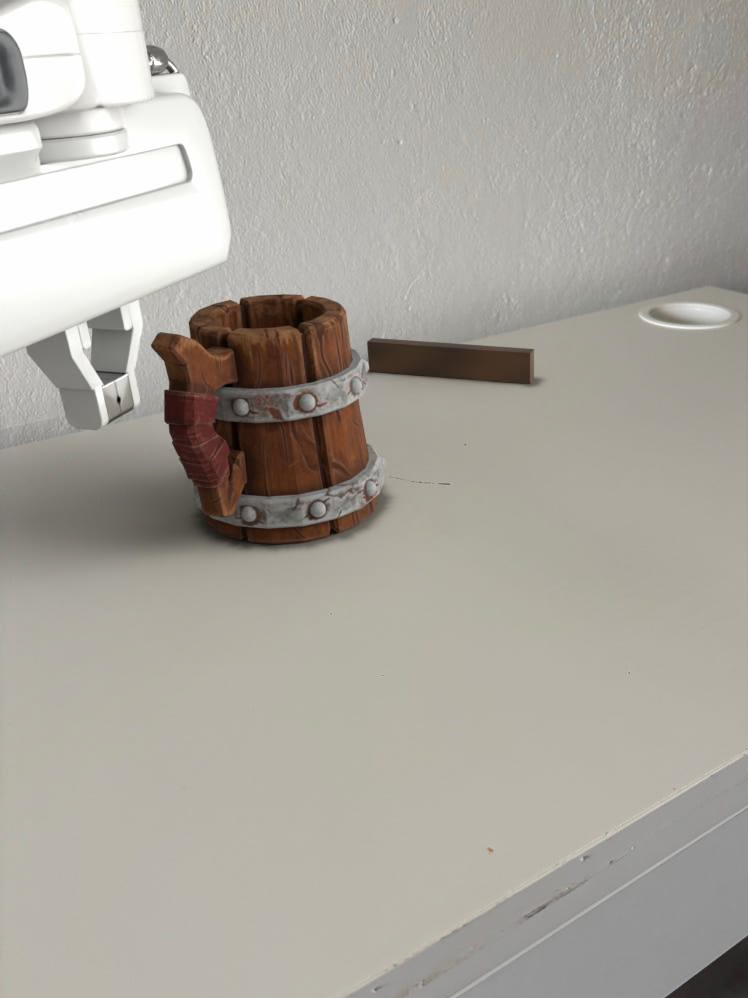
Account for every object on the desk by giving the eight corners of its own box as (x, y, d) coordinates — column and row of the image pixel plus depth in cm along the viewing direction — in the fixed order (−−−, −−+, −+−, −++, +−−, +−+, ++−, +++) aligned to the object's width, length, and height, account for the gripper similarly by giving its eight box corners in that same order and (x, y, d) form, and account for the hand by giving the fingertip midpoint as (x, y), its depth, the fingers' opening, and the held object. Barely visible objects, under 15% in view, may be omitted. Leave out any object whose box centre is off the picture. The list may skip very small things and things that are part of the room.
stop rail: (369, 371, 86) (366, 341, 85) (374, 367, 87) (372, 337, 86) (530, 384, 83) (530, 353, 81) (534, 379, 84) (534, 348, 82)
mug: (428, 474, 66) (394, 242, 57) (319, 610, 57) (255, 359, 47) (274, 451, 71) (218, 230, 61) (149, 574, 61) (58, 335, 51)
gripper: (115, 44, 47) (172, 347, 54) (-292, 72, 30) (-131, 503, 38) (238, 40, 45) (280, 354, 52) (-122, 69, 29) (12, 521, 36)
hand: (106, 418), depth 45 cm, fingers closed
